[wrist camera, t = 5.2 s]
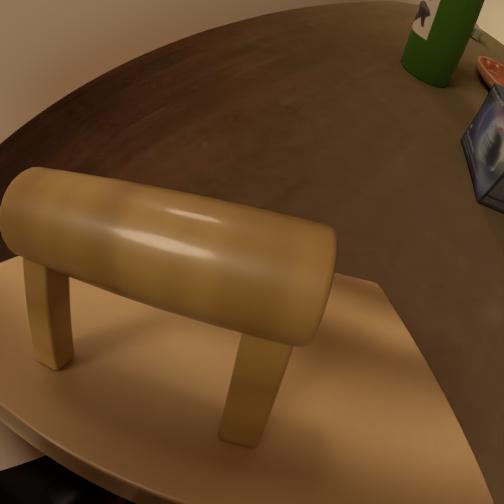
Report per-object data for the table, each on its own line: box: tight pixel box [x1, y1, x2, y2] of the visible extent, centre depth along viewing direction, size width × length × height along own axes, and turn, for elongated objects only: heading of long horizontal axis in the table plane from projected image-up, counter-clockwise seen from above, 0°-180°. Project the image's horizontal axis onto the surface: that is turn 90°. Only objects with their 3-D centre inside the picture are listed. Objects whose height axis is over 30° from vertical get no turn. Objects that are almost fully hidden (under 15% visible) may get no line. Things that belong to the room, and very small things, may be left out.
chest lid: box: [0, 167, 494, 504], centre depth 9 cm, size 13×15×5 cm
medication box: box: [471, 24, 482, 41], centre depth 56 cm, size 12×3×4 cm, turn 154°
